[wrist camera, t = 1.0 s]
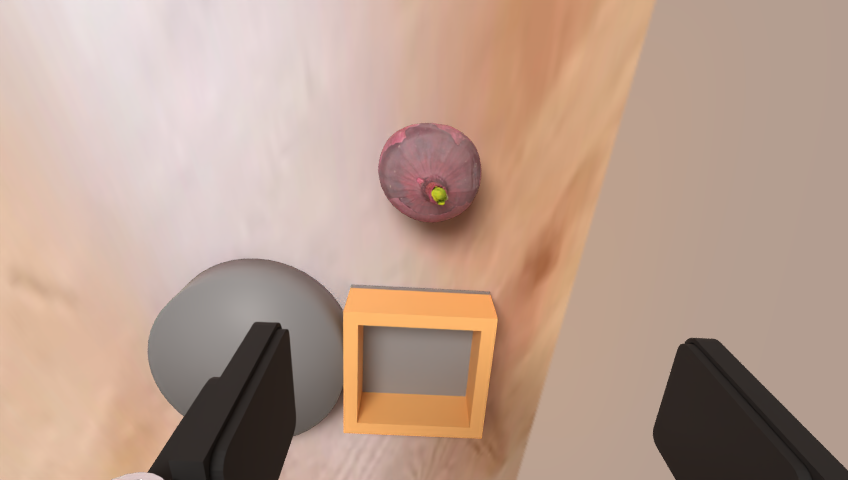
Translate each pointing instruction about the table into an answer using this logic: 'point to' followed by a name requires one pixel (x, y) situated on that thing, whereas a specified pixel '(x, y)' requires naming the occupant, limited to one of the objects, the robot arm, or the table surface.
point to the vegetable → (430, 171)
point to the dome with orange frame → (337, 347)
